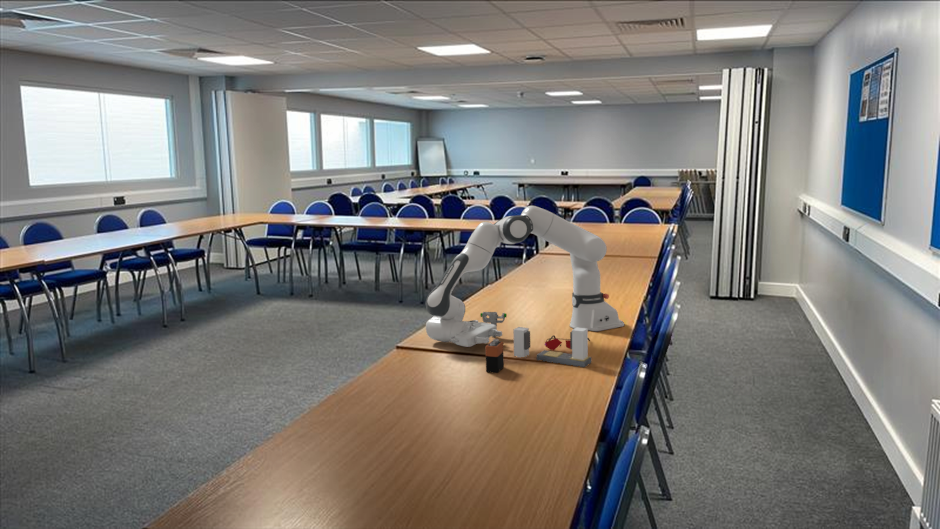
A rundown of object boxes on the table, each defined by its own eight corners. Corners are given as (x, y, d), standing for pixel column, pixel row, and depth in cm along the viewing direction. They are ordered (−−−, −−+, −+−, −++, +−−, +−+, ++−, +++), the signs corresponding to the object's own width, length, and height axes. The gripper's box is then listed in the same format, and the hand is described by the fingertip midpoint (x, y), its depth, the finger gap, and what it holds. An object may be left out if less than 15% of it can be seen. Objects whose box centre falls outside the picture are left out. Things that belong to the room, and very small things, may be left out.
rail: (536, 360, 230) (536, 354, 230) (544, 355, 235) (544, 349, 235) (584, 367, 221) (584, 361, 220) (591, 362, 226) (591, 356, 225)
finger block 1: (514, 356, 235) (513, 329, 234) (519, 353, 239) (518, 326, 237) (525, 358, 233) (525, 330, 231) (531, 355, 236) (530, 328, 235)
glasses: (544, 351, 242) (544, 338, 241) (554, 339, 257) (554, 326, 256) (581, 354, 237) (581, 340, 236) (590, 341, 252) (590, 329, 251)
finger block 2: (570, 358, 224) (569, 329, 223) (574, 354, 227) (574, 326, 226) (583, 360, 222) (582, 331, 220) (587, 356, 225) (587, 328, 223)
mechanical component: (506, 338, 259) (505, 313, 257) (480, 337, 261) (480, 313, 259) (507, 336, 262) (506, 312, 260) (482, 335, 264) (481, 311, 262)
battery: (504, 367, 224) (503, 338, 222) (498, 373, 218) (497, 344, 216) (492, 366, 226) (491, 338, 224) (485, 372, 219) (484, 343, 218)
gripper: (447, 331, 240) (479, 336, 232) (477, 318, 256) (508, 322, 249) (448, 348, 241) (480, 353, 233) (477, 334, 257) (508, 338, 250)
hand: (494, 337), depth 241 cm, fingers open, 8 cm apart
